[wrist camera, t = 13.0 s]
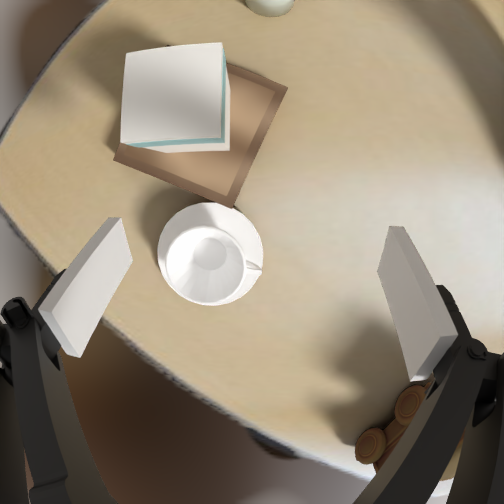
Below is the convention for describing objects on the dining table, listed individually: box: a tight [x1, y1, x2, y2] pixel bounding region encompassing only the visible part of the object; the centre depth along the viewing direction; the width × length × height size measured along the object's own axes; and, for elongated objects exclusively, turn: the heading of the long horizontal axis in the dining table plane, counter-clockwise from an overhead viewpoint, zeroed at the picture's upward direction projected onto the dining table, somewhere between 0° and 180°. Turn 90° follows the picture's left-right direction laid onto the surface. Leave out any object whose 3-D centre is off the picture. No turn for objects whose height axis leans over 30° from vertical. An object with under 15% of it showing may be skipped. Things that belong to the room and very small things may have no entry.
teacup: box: [157, 202, 263, 306], centre depth 32 cm, size 12×12×5 cm
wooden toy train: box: [355, 382, 466, 481], centre depth 35 cm, size 20×11×17 cm, turn 150°
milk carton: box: [120, 43, 230, 153], centre depth 22 cm, size 7×7×12 cm
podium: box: [113, 45, 288, 209], centre depth 29 cm, size 14×14×3 cm
